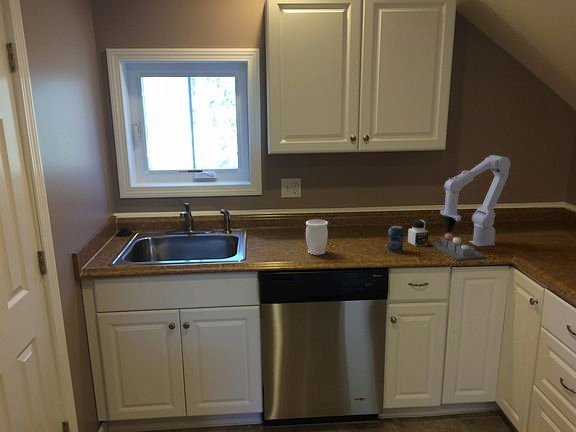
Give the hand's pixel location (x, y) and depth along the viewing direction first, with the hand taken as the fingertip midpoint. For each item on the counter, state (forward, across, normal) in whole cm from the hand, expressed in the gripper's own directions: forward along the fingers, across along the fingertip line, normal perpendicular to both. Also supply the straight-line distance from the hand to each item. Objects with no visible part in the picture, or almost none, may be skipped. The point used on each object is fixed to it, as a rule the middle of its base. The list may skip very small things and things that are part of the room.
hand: (448, 231), depth 219 cm
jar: (+8, -7, -65) cm, 66 cm away
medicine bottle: (+8, -8, -12) cm, 16 cm away
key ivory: (+4, +7, 0) cm, 8 cm away
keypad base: (+8, +7, 0) cm, 10 cm away
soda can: (+8, 0, -28) cm, 29 cm away
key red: (+4, 0, 0) cm, 4 cm away
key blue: (+6, +14, 0) cm, 15 cm away
